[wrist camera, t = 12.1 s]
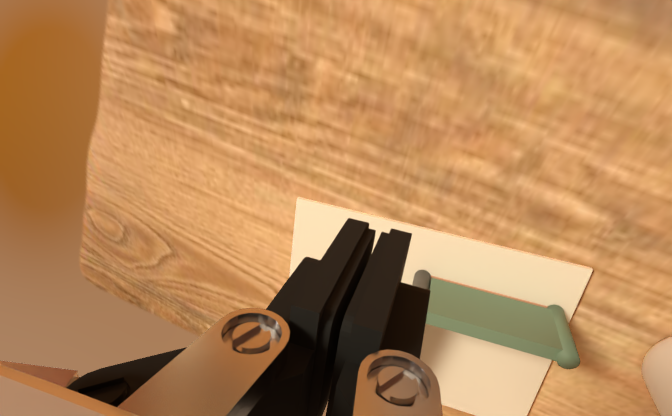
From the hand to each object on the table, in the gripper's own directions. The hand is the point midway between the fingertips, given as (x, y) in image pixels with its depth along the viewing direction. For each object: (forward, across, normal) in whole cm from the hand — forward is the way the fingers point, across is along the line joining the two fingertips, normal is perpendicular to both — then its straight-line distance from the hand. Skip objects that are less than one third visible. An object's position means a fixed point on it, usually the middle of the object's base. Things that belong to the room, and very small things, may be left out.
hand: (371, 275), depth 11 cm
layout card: (+27, -2, +21) cm, 34 cm away
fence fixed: (+27, -8, +16) cm, 32 cm away
